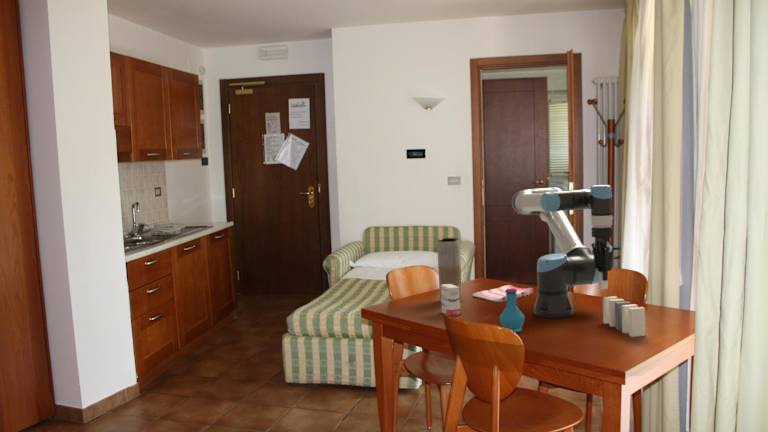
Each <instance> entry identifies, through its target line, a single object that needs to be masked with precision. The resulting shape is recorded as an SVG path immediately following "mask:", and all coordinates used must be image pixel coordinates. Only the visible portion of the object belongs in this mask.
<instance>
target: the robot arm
mask: <svg viewBox="0 0 768 432" xmlns="http://www.w3.org/2000/svg"><path fill="white" fill-rule="evenodd" d="M511 206H512V208H513V210H514V212H516V213H517V214H520V215H522V216H523V215H524V216H537V215H538V216H539V218H540V220H541V221H543V222H546V224H547V226H548V227H549V229H550V231H551V233H552V235H553V237H554V238H555V241H556V242H557V245H558V246H559V249H561V252H562V253H559V252H558V253H549V254H545V255H542V256H540V257H539V258H538V259H537V262H536V263H537V264H536V277H537V278H536V280H537V296H536V300H535V304H534V307H533V314H534V315H535V316H537V317H541V318H549V319H559V318H562V319H563V318H567V317H571V316H573V314H574V308H573V305H572V301H571V299H570V295H569V287H574V286H583V285H584V286H585V285H593V284H599V285H598V289H599V290H608V289H609V284H608V283H609V278H608V277H609V275H608V272H610V271H612V264H613V254H614V251H615V246H614V245H613V246H612V245H611V240H610V239H611V238H612V237H613V235H614V233H613V232H614V230H613V229H614V228H613V227H612V225H613V219H614V217H613V194H612V186H611V185H610V184H598V185H597V184H596V185H592V186H591V187H590V189H587V188H583V189H577V190H565V191H563V190H562V189H561V188H559V187H552V186H548V187H543V188H541V187H539V188H526V189H521V190H519V191H518V192H516V193H515V194H514V195H513V196H512V199H511ZM577 210H578V211H580V210H590V225H591V237H592V238H594V242H593V243H590V245H591V248H592V250H591V248H590V247H588V246H585V245H584V244H583V242H582V241H581V239H580V237H579V236H578V233H577V232H576V230H575V229H574V227H573V225H572V223H571V221H570V220H569V218H568V217H567V214H566V213H565V212H566V211H577Z"/></svg>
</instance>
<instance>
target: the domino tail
mask: <svg viewBox="0 0 768 432" xmlns="http://www.w3.org/2000/svg"><path fill="white" fill-rule="evenodd" d="M628 336H629V337H630V338H633V337H643V336H646V308H645V307H643V306H638V307H635V308H629V333H628Z"/></svg>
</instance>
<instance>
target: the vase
mask: <svg viewBox="0 0 768 432" xmlns="http://www.w3.org/2000/svg"><path fill="white" fill-rule="evenodd" d="M460 241H461V240H460V239H459V238H458V237H457V238H455V237H451V238H450V237H447V238H446V237H445V238H439V239H437V240H436V244H437V246H436V247H437V269H438V286H439V287H438V288H439V302H440V303H441V285H443V284H452V285H455V286H457V287H459V293H460V303H462V302H463V289H462V287H463V286H462V285H463V283H462V268H461V267H462V266H461V264H462V263H461V262H462V261H461V243H460Z"/></svg>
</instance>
